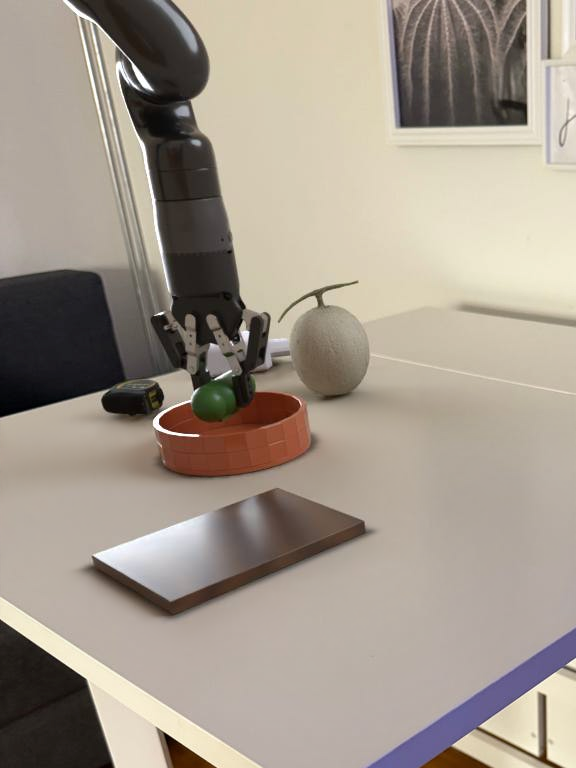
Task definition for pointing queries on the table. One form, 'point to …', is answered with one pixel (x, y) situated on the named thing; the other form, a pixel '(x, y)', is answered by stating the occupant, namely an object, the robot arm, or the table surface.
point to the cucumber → (216, 399)
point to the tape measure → (133, 398)
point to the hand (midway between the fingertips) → (226, 404)
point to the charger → (220, 364)
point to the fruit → (328, 346)
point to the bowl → (234, 436)
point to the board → (226, 548)
